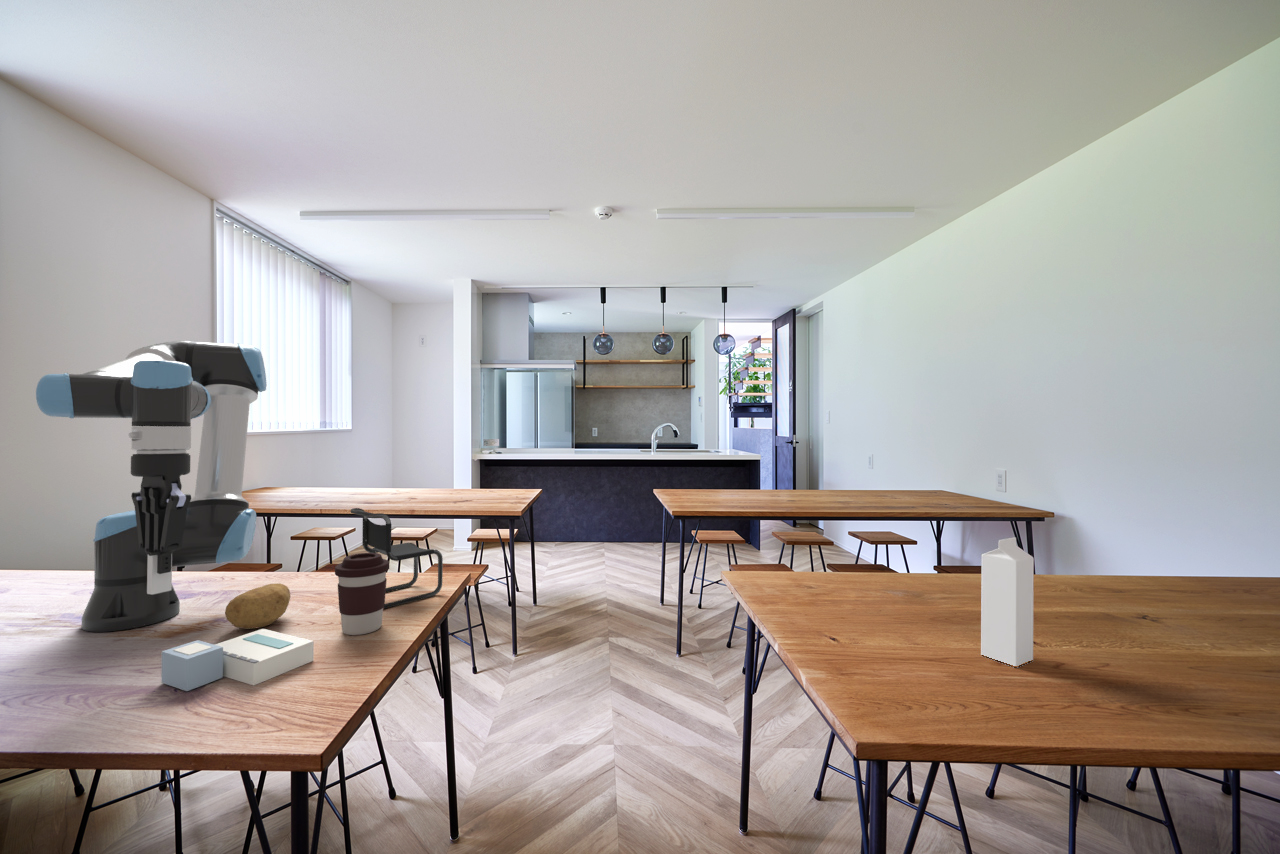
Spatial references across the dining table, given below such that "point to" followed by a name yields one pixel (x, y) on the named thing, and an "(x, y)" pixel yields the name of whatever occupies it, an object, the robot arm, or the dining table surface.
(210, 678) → the light blue box
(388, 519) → the chair
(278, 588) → the potato
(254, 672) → the white device
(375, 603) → the coffee cup
